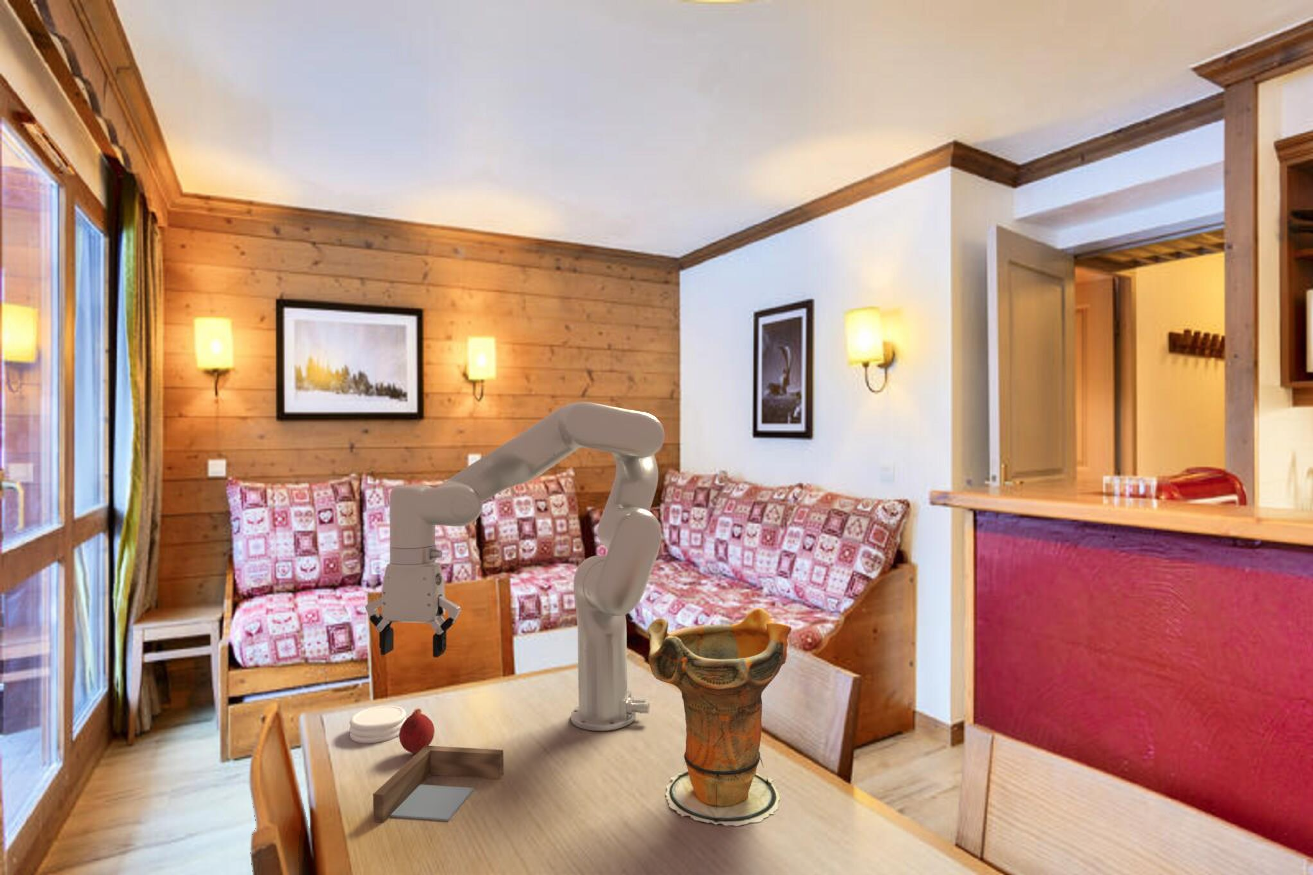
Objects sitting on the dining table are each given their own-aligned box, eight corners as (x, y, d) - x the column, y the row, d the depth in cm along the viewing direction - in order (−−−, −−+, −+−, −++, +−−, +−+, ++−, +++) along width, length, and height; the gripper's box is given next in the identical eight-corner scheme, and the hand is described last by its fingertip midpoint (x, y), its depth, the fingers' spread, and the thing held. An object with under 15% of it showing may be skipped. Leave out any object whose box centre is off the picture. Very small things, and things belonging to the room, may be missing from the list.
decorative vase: (623, 775, 114) (630, 602, 114) (750, 758, 122) (756, 595, 122) (672, 846, 94) (679, 636, 95) (819, 819, 103) (825, 626, 103)
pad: (473, 789, 111) (473, 787, 111) (448, 820, 102) (448, 818, 102) (420, 786, 113) (420, 784, 113) (390, 816, 104) (390, 814, 104)
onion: (423, 763, 120) (422, 716, 120) (392, 760, 122) (392, 714, 122) (440, 748, 126) (439, 703, 126) (411, 746, 127) (410, 701, 127)
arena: (503, 773, 116) (503, 749, 116) (462, 828, 100) (461, 799, 100) (426, 769, 118) (425, 745, 118) (373, 821, 102) (373, 794, 102)
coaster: (352, 726, 137) (352, 708, 137) (407, 719, 140) (406, 701, 140) (347, 748, 127) (346, 728, 127) (405, 740, 130) (405, 721, 130)
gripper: (468, 553, 126) (468, 649, 126) (378, 551, 129) (378, 645, 129) (449, 561, 119) (450, 663, 119) (354, 558, 121) (354, 658, 121)
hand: (412, 653), depth 124 cm, fingers open, 9 cm apart
